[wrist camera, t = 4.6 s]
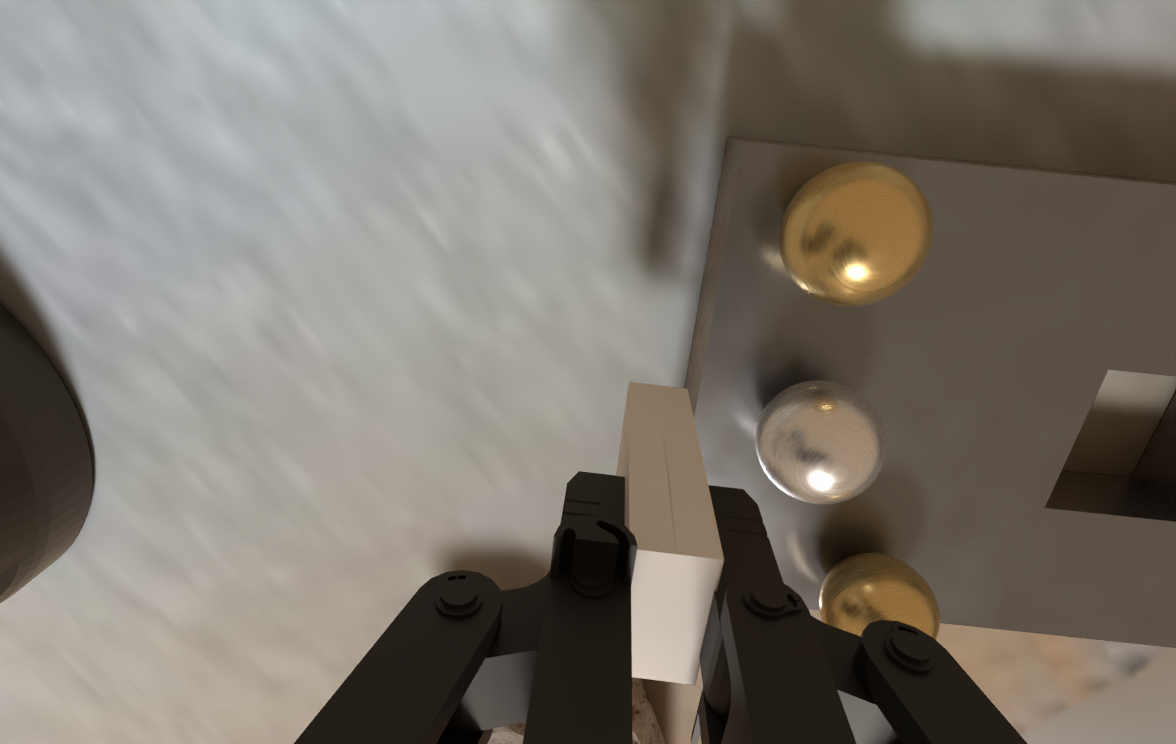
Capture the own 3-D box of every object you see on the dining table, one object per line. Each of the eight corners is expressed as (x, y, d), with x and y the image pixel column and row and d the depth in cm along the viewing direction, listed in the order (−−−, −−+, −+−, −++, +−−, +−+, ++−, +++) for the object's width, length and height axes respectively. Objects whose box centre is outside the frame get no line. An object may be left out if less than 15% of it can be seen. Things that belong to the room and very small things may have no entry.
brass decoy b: (796, 605, 20) (826, 689, 17) (819, 525, 19) (856, 601, 16) (893, 615, 20) (940, 701, 17) (923, 536, 19) (979, 614, 16)
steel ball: (735, 456, 18) (757, 523, 15) (757, 355, 17) (785, 407, 14) (843, 467, 18) (887, 536, 15) (873, 367, 17) (927, 422, 14)
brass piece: (754, 279, 16) (783, 317, 13) (780, 149, 15) (820, 160, 12) (876, 291, 16) (933, 332, 13) (913, 162, 15) (986, 176, 12)
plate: (657, 544, 23) (662, 593, 20) (727, 137, 17) (744, 141, 15) (1150, 596, 23) (1210, 651, 20) (1378, 203, 17) (1497, 218, 15)
